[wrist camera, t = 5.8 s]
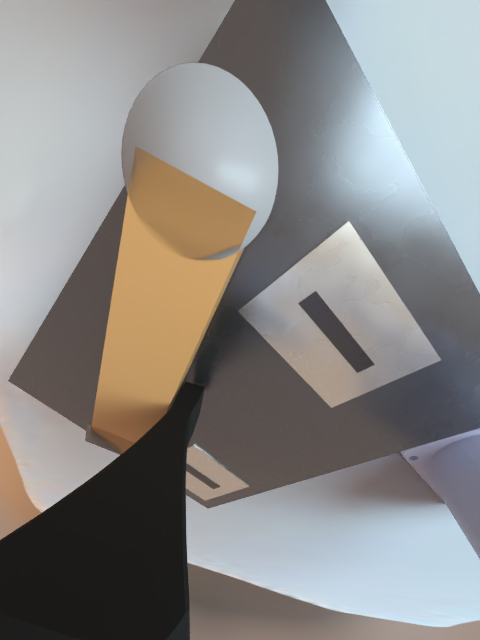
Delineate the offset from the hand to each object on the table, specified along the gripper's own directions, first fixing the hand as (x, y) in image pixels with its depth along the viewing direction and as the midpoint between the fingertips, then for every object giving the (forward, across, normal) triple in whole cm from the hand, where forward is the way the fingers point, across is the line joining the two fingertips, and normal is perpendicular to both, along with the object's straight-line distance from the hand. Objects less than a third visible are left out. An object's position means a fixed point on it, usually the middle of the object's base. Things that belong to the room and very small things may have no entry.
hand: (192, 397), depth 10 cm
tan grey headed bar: (0, +2, -4) cm, 4 cm away
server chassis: (+3, -1, 0) cm, 4 cm away
